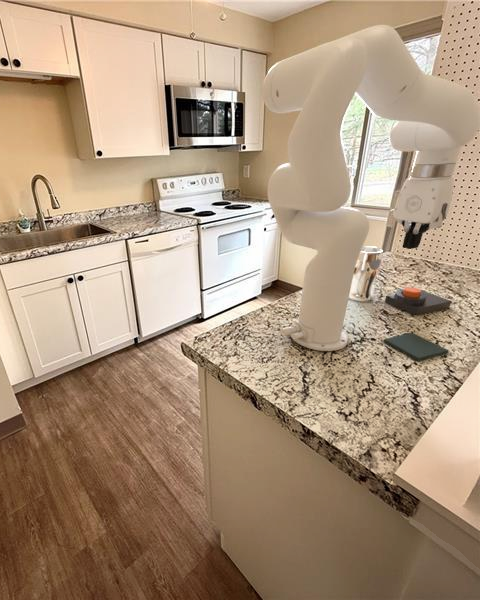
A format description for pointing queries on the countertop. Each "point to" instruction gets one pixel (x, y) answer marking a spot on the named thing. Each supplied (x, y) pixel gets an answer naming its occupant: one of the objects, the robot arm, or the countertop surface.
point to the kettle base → (418, 302)
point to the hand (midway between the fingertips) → (410, 247)
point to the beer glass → (365, 273)
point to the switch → (411, 292)
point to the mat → (415, 346)
